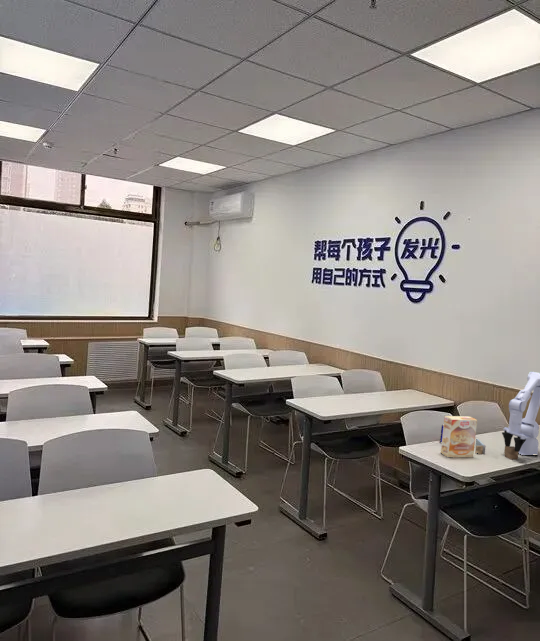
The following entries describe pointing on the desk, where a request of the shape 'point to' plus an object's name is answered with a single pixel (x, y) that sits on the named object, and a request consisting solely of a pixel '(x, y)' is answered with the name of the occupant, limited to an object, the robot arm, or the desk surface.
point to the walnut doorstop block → (511, 452)
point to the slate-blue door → (479, 443)
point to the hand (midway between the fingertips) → (512, 448)
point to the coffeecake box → (458, 436)
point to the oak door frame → (480, 449)
